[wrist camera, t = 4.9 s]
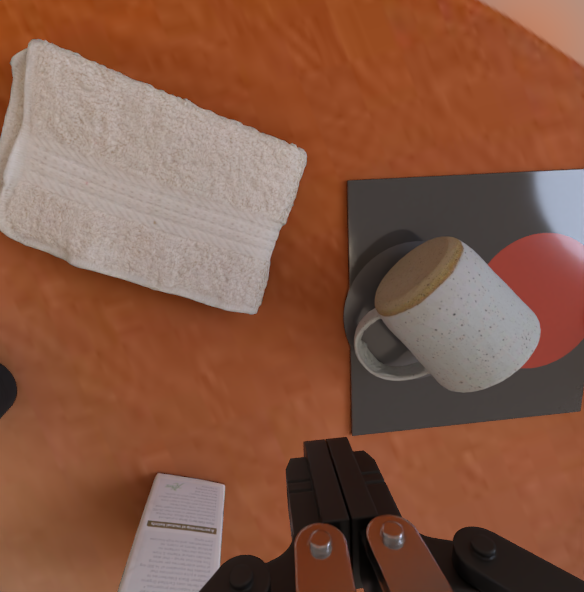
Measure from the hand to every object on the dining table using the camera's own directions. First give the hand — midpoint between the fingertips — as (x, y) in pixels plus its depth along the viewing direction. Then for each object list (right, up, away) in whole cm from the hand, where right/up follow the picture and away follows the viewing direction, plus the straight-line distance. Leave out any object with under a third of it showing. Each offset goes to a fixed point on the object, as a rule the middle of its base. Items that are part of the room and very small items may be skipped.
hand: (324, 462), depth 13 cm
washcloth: (-10, +13, +13) cm, 21 cm away
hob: (+13, +5, +17) cm, 22 cm away
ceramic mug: (+8, +4, +17) cm, 19 cm away
